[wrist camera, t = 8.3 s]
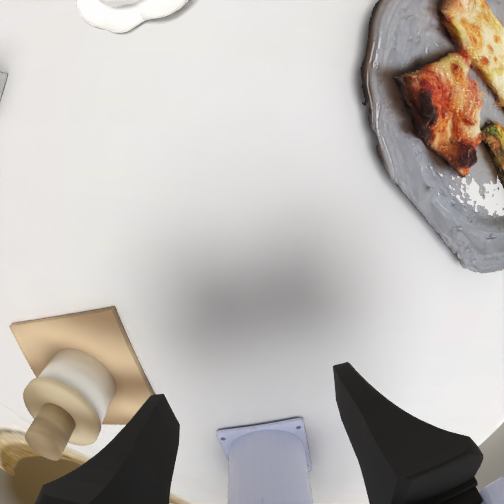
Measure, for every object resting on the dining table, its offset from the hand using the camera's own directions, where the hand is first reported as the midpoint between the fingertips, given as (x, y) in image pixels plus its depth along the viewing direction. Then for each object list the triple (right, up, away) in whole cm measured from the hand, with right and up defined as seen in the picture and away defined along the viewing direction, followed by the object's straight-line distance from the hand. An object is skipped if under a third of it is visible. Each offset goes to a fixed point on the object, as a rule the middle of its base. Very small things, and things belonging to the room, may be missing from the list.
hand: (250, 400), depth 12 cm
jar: (-15, -5, +12) cm, 19 cm away
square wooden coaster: (-15, -5, +12) cm, 20 cm away
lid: (-15, -6, +7) cm, 18 cm away
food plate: (+19, +17, +6) cm, 27 cm away
